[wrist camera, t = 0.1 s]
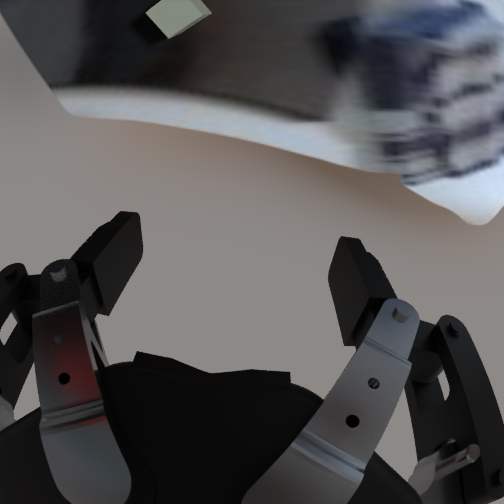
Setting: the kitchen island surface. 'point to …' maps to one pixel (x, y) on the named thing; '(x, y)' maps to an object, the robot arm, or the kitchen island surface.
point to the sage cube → (177, 15)
